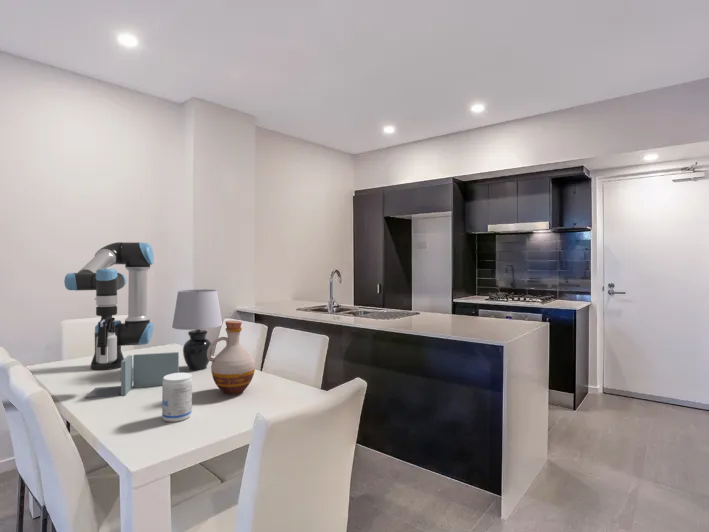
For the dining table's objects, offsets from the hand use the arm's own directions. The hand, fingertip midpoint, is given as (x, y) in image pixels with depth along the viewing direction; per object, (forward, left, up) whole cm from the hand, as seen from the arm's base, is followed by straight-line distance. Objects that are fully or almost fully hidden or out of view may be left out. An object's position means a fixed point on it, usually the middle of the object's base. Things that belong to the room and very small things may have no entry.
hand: (106, 360), depth 168 cm
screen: (0, +17, -13) cm, 22 cm away
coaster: (0, 0, -13) cm, 13 cm away
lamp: (-30, +33, -14) cm, 47 cm away
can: (0, 0, -1) cm, 1 cm away
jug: (+14, +50, -14) cm, 54 cm away
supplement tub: (+37, +32, -14) cm, 51 cm away
